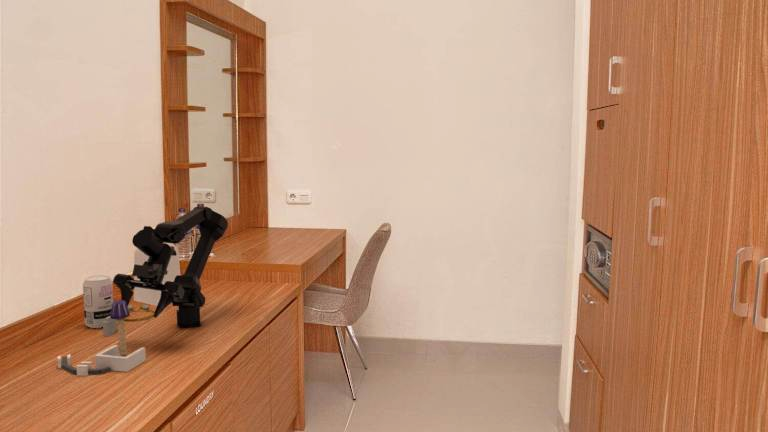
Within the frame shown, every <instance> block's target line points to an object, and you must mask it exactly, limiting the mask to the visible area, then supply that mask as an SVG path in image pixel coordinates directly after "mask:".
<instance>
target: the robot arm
mask: <svg viewBox="0 0 768 432" xmlns="http://www.w3.org/2000/svg"><path fill="white" fill-rule="evenodd" d="M228 225H229V223H228V219H227V218H226V217H225V216H224V215H223V214H220V213H218V212H216V211H214V210H213V209H212V208H210V207H208V206H198V205H197V206H195V207H193V209H192V210H190V211H188V212H187V213H185V214H182V215H181V216H180V217H178V218H177V219H174V220H168V221H163V222H160V223H158V224H156V226H155V227H152V226H150V225H144V227H142V228H143V229H141V230H138V232H137V233H135V234H133V237H132V245H133V246H134V247H135V248H136V247H137V248H138V249H139V250H140V251H141V252H143V253H144V254H145V255H147V256H149V258H148V260H147V261H145V262H144V264H143V265H136V264H134V263H133V270H132V273H131V275H132V276H133V277H132V276H131V275H130V274H124V273H117V274H115V275H114V277H113V279H112V284H115V286H116V287H117V289H119V291H120V295H121V300H124V301H125V302H126V305H127V307H128V306H129V305H130V302H131V300H132V297H133V296H134V288H135V287H138V288H145V289H151V290H158V291H161V297H160V300H159V303H158V305H157V306H156V308H155V310H154V311H155V313H153V314H154V316H153V318H155V319H156V318H158V316H159V315H160V314H162V312H163V311H164V310H165V309H166V308H167V307H169V305H171V304H172V306H173V307H177V308H178V309H176V312H175V313H176V325H177V326H178V328H179V329H184V328H192V327H193V328H194V327H201V326H202V323H201V308H203V307H204V306H205V304H206V296H204V294H203V293H202V292H201V291H202V286H201V281H200V279H201V276H202V274H203V272H204V270H205V267H206V265H207V262H208V259H209V257H210V255H211V252H212V250H213V248H214V246H215V243H216V242H217V241H218V240H219V239H221V238H222V237H223V236H224V234H225V233H226V231H227V229H228ZM196 226H198V231H199V234H200V236H199V239H198V240H197V243H196V246H195V247H194V248H195V249H194V250H193V253H192V255H191V257H190V259H189V262H188V263H187V266H186V269H185V271H184V273H183V274H182V275H181V274H180V275H177V276H176V277H175V279H174V282H171V281H166V282H165V284H162V281H163V278H164V275H167V272H168V271H167V267H168V264H169V261H170V258H171V256H176V251H175V249H174V247H173V246H169V245H168V244H166V243H173V244H174V245H177V244H179V243H181V242H182V241H183V240H184V239H185V237H186V233H187V232H188V231H191V230H192V229H193V228H195V227H196ZM153 228H155V229H153ZM134 276H137V278H138V279H140V281H138V280H134Z"/></svg>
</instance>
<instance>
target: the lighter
mask: <svg viewBox="0 0 768 432" xmlns="http://www.w3.org/2000/svg"><path fill="white" fill-rule="evenodd" d="M102 331H103V332H102V333H103V337H110V336H112V335H114V334H116V333H117V319H111V318H110V316H108V317H106V321H104V322H103V328H102ZM115 332H116V333H115Z"/></svg>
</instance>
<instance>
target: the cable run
mask: <svg viewBox="0 0 768 432" xmlns="http://www.w3.org/2000/svg"><path fill="white" fill-rule="evenodd" d="M61 369H63V370H64V371H66V372H68V373H70V374H73V375H77V367H74V366H72V365H71V366H70V365H68V359H67V355H66V356H61ZM111 371H112V370H111V369H110V367H105V368H101V369H95V368H92V369H88V375H101V374H102V375H103V374H106V373H110V372H111Z"/></svg>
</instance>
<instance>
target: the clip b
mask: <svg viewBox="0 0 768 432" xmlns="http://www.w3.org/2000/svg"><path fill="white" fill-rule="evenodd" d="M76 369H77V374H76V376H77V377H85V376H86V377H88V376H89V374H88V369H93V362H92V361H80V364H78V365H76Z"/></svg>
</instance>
